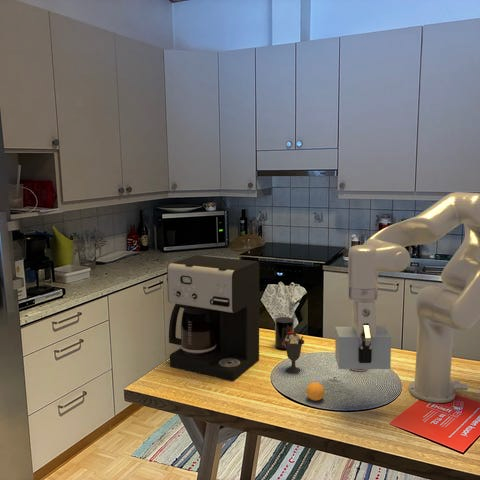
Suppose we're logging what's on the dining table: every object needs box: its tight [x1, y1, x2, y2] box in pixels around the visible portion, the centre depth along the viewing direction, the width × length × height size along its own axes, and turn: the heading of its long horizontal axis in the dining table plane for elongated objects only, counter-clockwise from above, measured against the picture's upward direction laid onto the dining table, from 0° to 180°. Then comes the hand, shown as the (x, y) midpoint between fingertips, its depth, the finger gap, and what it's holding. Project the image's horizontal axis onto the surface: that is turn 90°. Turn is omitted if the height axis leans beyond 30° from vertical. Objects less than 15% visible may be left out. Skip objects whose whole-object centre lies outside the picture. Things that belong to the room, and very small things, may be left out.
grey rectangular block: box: [334, 325, 392, 370], centre depth 129 cm, size 13×8×9 cm, turn 86°
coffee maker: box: [166, 254, 260, 382], centre depth 161 cm, size 28×20×35 cm
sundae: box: [283, 326, 305, 374], centre depth 156 cm, size 7×7×15 cm
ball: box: [305, 381, 325, 402], centre depth 137 cm, size 5×5×5 cm
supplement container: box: [274, 316, 295, 351], centre depth 176 cm, size 7×7×10 cm
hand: (362, 355), depth 129 cm, fingers closed on grey rectangular block, 7 cm apart
